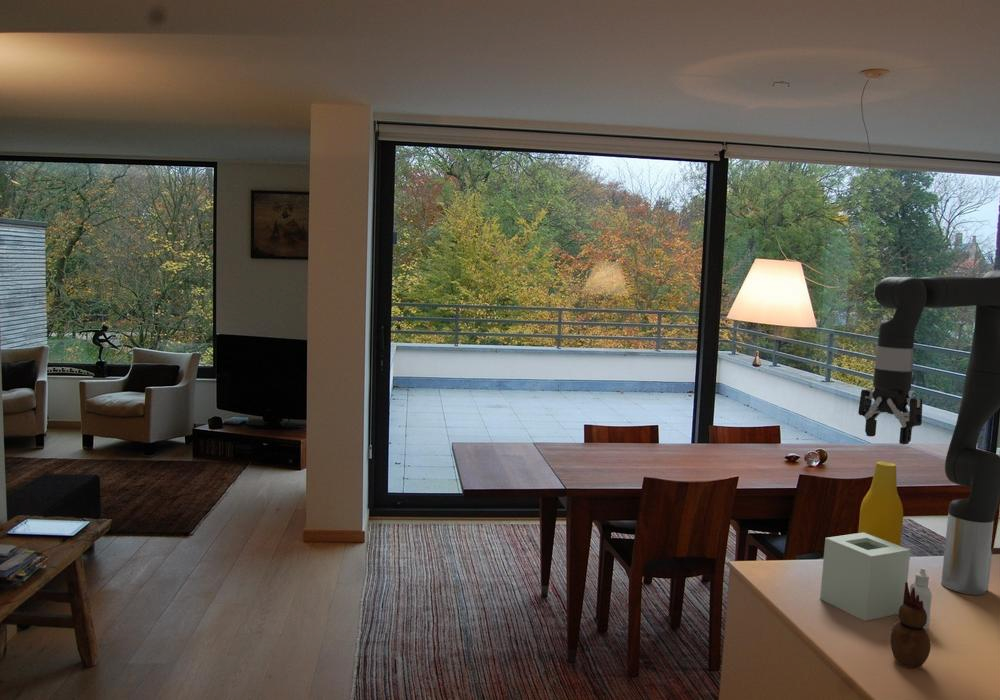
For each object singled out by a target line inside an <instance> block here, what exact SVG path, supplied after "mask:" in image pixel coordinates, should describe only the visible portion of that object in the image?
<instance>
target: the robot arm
mask: <svg viewBox="0 0 1000 700" xmlns="http://www.w3.org/2000/svg"><path fill="white" fill-rule="evenodd" d="M874 298H875V300H876V302H877V303H878V304H879V305H880V306H881V307H884V308H886V309H893V310H895V312H894V315H893V316H892V318H891V319H886V320H883V321H882V322H881V323H880V326H879V331H878V341H877V342H878V343H877V349H876V354H875V357H874V358H875V359H874V371H873V382H872V383H873V384H872V386H873V387H874V390H873V389H867V388H866V389H862V390H861V391H860V398H859V406H858V410H857V412H858V413H857V414H858V415H859V416H861V417H864V419H865V426H864V427H865V428H864V429H865V430H864V432H865V435H866V437H875V436H876V433H877V432H876V431H877V418H878V416H880V414H882V413H887V414H889V415H894V416H895V418H896V419H897V420H898V421H899V423H900V425H901V426H900V431H899V440H898V442H899V443H898V444H900V445H909V444H910V442H911V441H912V432H913V428H914V427H919V426H921V425H922V421H923V398H921V397H916V398H914V397H910V391H911V388H912V380H913V368H914V346H915V344H914V342H915V332H916V328H917V326H918V323H919V321H920V319H921V316H922V314H923V311H924V308H928V309H939V308H941V309H942V308H959V307H960V308H961V307H971V306H972V307H974V306H975V314H974V315H975V316H974V326H973V328H974V329H973V334H972V341H971V348H970V353H969V360H968V363H967V366H966V367H967V368H966V371H965V372H966V373H965V376H964V383H963V391H962V395H961V401H960V405H959V410H958V415H957V419H956V422H955V423H956V424H955V427H954V429H953V433H952V437H951V440H950V443H949V447H948V450H947V453H946V456H945V462H944V473H945V476H946V478H947V479H948V480H949V481H950V483H953V484H956V485H960V486H963V487H966V488H970V491H969V495H968V497H967V498H962V499H960V498H959V499H953V500H951V501H950V502H949V506H948V514H947V522H946V523H947V525H946V533H945V543H944V552H943V562H942V572H941V582H940V583H941V585H942V586H943V587H945V588H947V589H949V590H952V591H955V592H958V593H962V594H967V595H973V596H974V595H975V596H977V595H984V594H986V593H987V590H989V584H990V576H991V575H990V573H991V564H992V556H993V551H992V549H991V548H992V541H993V539H992V538H993V530H994V521H995V515H996V512H997V510H998V508H999V504H1000V455H998V454H996V453H995V452H991V451H987V450H984V449H978V448H977V446H978V441H979V438H980V436H981V435H980V434H981V431H982V430H983V428H984V426H985V424H986V423H987V422H988V421H989V420H990V419H991V418H992V417H993V416H994V414H996V413H997V411H998V410H1000V269H994V270H990V271H988V272H986V273H985V274H984V275H983V276H982V277H976V276H975V277H974V276H973V277H972V276H959V275H958V276H954V275H953V276H952V275H950V276H949V275H943V276H941V275H939V276H937V275H936V276H926V277H925V276H924V277H914V276H911V277H910V276H889V277H885V278H883V279H881V281H879V282H877V284H876V286H875V288H874ZM873 400H874V402H872V401H873ZM907 406H908V407H907Z"/></svg>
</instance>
